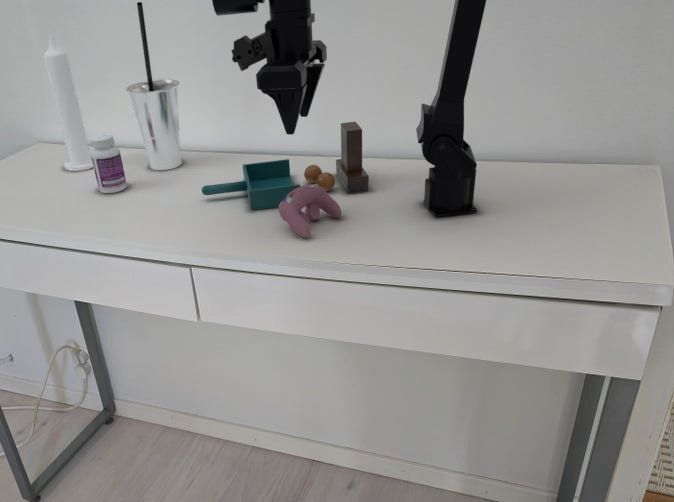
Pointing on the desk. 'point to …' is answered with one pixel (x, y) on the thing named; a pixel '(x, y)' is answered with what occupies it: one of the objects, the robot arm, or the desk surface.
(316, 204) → the video game controller
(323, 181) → the ball near
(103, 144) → the pill bottle
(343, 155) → the brown thick angular block
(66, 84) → the candle
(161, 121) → the tumbler with straw
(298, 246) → the desk surface
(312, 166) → the ball far
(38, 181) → the desk surface
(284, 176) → the dustpan
